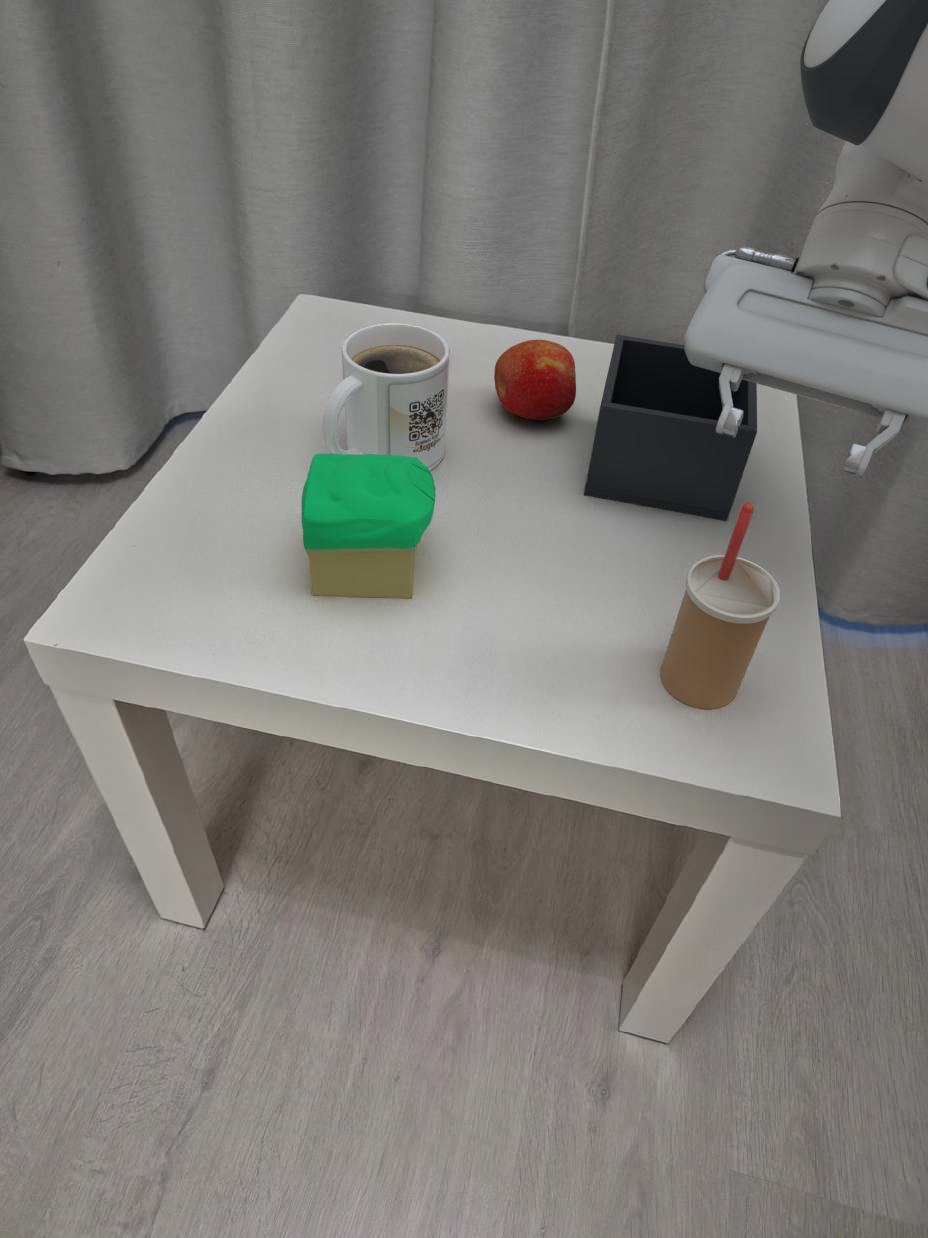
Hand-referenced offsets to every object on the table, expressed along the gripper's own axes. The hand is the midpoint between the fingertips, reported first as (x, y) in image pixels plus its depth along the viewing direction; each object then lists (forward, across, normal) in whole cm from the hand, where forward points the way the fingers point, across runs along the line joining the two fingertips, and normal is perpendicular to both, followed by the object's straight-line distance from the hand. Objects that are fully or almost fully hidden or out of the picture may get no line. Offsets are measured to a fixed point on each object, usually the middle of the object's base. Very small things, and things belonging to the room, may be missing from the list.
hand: (787, 452), depth 65 cm
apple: (-1, -26, +22) cm, 35 cm away
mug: (+9, -36, +12) cm, 39 cm away
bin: (0, -11, +21) cm, 24 cm away
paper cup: (+18, 0, +3) cm, 18 cm away
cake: (+19, -29, +2) cm, 35 cm away
